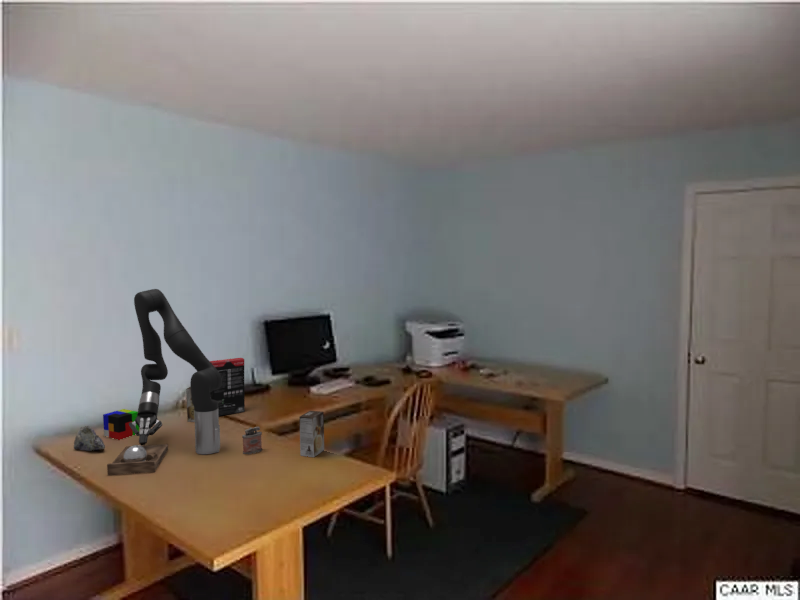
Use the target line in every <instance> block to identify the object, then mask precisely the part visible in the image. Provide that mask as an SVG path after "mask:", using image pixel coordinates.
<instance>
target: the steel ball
mask: <svg viewBox="0 0 800 600" xmlns="http://www.w3.org/2000/svg"><path fill="white" fill-rule="evenodd" d="M130 446H131V445H130ZM142 446H143V445H140V444H134V445H132V446H131V447H129V448H128V449H127V450H126V451H125V453H124V461H125V463H126V462H141V461H146V458H147V452H146V450H145V448H143V447H142Z"/></svg>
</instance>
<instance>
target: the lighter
mask: <svg viewBox="0 0 800 600" xmlns="http://www.w3.org/2000/svg"><path fill="white" fill-rule="evenodd" d="M260 430H261V427H260V426H255V427H248V428H247V429H245V430H244V432H245V434H242V435H241V436H242V449H243V450H242V455H243V454H248V455H253V454H257V453H260V452H262V451H263V447H262V443H263V442H262V435H263V434H262V433H263V432H262V431H260ZM256 452H257V453H256ZM252 453H253V454H252Z"/></svg>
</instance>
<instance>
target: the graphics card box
mask: <svg viewBox="0 0 800 600" xmlns="http://www.w3.org/2000/svg"><path fill="white" fill-rule="evenodd" d="M209 361H210V362H211V363H212V365H213V366H214V367H215V368H216V369H217V370H218V372H219V373H220V375H221V378H222V384H221V386H220V388H218V389H216V390H214V391H211V392H210V397H211V399H212V400H216V401H217V402H218V416H219V417H220V416H229V415H234V414H239V413H244V412H245V408H246V405H245V396H246V395H245V358H243V357H236V358H235V357H234V358H225V359H219V360H209Z"/></svg>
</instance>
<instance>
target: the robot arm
mask: <svg viewBox="0 0 800 600" xmlns="http://www.w3.org/2000/svg"><path fill="white" fill-rule="evenodd" d="M133 305H134V309H135V314H136V318H137V322H138V326H139V329H140V333H141V338H142V346H143V347H142V348H143V356H144V359H145V360H147V361H150V362H154V363H145V364H143V366H142V367H141V369H140V375H141V380H142V381H141V382H142V390H141V395H140V399H139V403H138V407H137V412H138V413H137V417H136V419H135V421H134V422H132V423H131V422H130V423H129V426H130V428H131V429H132V430H133V432H134V433H135V434H136V435H135V436H136V437H139V438H138V443H139V444H138V445H139V446H144V445H147V443H148V438H149V436H153V435H155V433H156V432H157V431H158V430H160V428H162V426H163V422H162V421H161V420H159V419H158V413H159V408H160V407H159V406H160V395H161V390H162V389H161V387H162V386H161V384H160V383H159V382H158V381H163V380H165V379H166V378H167V377H168V372H169V370H168V367H167V364H166V362H165V360H164V356H163V352H162V351H163V350H162V341H161V337H160V335H159V333H158V332H157V331H156V329H155V328H154V327H153V325H152V323H151V320H150V313H154V312H157V313H158V314H159V315H160V317H161V319H162V321H163V339H164V341H165V343H166V345H167V346H168V347H169V349H170V350H171V351H172V353H173V354H174V355H176V356H177V357H179V358H180V359H182V360H183V361H185V362H187V363H188V364H190V365H191V366H192V367H193V368H194V369H195V370H196V371H195V372H194V373H193V374H192V375H191V378H190V386H189V387H191V397H192V403H193V405H194V418H195V422H194V440H195V442H194V443H195V453H197V454H198V455H210V454H214V453H219V452H220V449H221V428H220V426H221V425H220V423H219V422H220V420H219V418H220V416H218V402H217V401H216V400H212V399H211V397H210V392H211V391H214V390H216V389H218V388H220V386H221V384H222V378H221V375H220V373H219V372H218V370H217V369H216V368H215V367H214V366H213V365H212V363H211V362H210V361H211V360H209V359H208V358H207V356H206V355H205V354H204V353H203V351H202V350H201V349H200V348H199V345H197V343H196V342H195V341H194V339H193V337H192V336H191V334H190V333H189V331H188V330H187V329H186V327H185V326H184V325H183V324H182V322H181V320H180V319H179V318H178V316H177V315H176V313H175V312H174V310H173V308H172V306H171V304H170V301H169V300H168V299H167V297H166V295H165V294H164V293H163V292H162V291H161V290H160V289H158V288H152V289H147V290H142V291H139V292H136V294H135V295H134V298H133ZM136 424H137V425H138V426H139V431H138V430H137V429H136V428H135V427H136Z"/></svg>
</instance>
